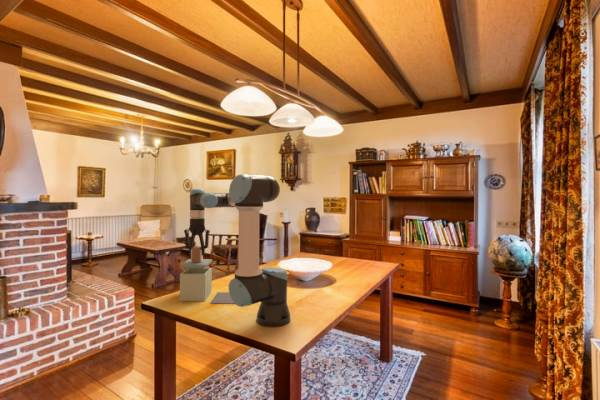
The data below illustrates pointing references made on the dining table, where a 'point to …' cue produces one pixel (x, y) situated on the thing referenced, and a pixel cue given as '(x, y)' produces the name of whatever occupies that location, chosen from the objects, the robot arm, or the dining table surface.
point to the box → (195, 284)
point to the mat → (222, 298)
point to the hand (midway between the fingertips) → (196, 261)
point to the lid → (196, 260)
